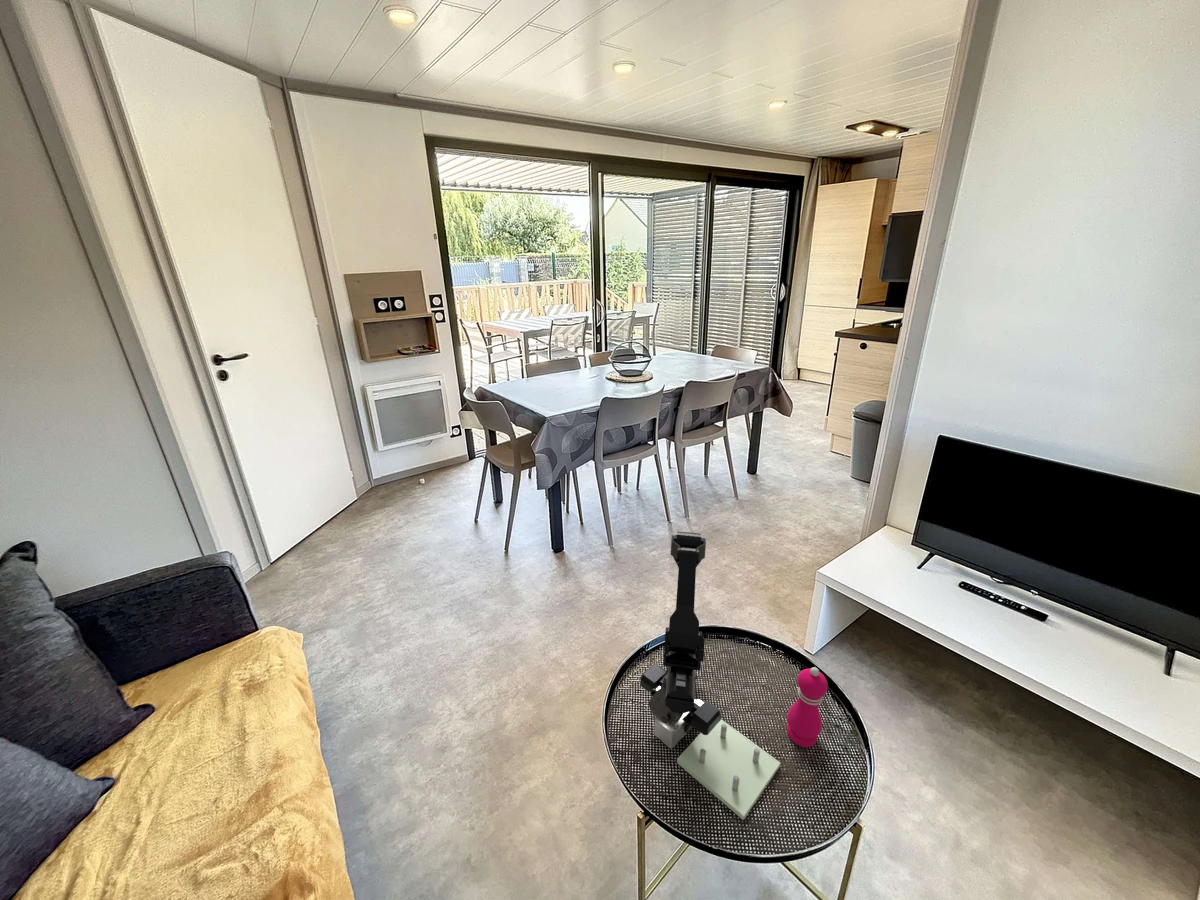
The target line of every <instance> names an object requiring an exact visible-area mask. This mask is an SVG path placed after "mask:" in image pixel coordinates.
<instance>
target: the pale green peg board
mask: <svg viewBox="0 0 1200 900" xmlns="http://www.w3.org/2000/svg"><path fill="white" fill-rule="evenodd" d="M676 764H678V765H679V767H681V768H683V770H685V771H686V772H687V773H688V774H689V775H691V777H692V778H694V779H695V780H696V781H697V782H699V784H701V785H702V786H703V787H704V788H706V789H707V790H708V791H709V792H710V793H711V794H712V795H713V796H715V797H716V798H717V799H718V800H719V801H720V802H722V803H723V804H724V805H725V806H726V807H727V808H729V809H730V810H731V811H732V812H733V813H735V814H736V815H737V816H738V817H739V818H740V819H741V820H742V821H744V820H745V819H746V817H747V816H748V814H749V812H750V811H751V810H752V808H753V807H754V805H755V804H756V803H757V801H758V799H759V798H760V797H761V795H762V793H764V791H765V789H766V788H767V786H768V784H769V783H770V782H771V781H772V779H773V778H774V776H775V775H776V773H777V772H778V770H779V768H780V767H781V762H780V761H779V760H777V759H776V758H775V757H773V756H772V755H771V754H770V753H768V752H766V751H765V750H763V749H762V747H759V746H758V745H757V744H756V743H754V742H753V741H751V740H750V739H749V738H747V737H746V736H744V735H743V734H742V733H741V732H739V730H737V729H736V728H734V727H733V726H731V725H730V724H728V723H727V722H726V721H725V720H723V719H722V718H721V720H720V721H719V722H718V724H717V725H716V726H715V727H714V728H713V729H712V730H711V732H710V733H709V734H708V735H703V734H702V733H701V732H699V734H698V735H697V736H696V738H695V739H694V740H692V742H691V743H690V744H689V745H688V746H687V747H686V748H685V749H684V751H683V752H682V753H681V754H680V756H678V757H677V758H676Z"/></svg>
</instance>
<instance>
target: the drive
mask: <svg viewBox="0 0 1200 900" xmlns="http://www.w3.org/2000/svg"><path fill="white" fill-rule="evenodd" d="M688 713H689V712H687V713H683V715H682V717H681V718H680V720H679V721H678V723H677V724H674V723H673V722H671V723H670V724H668V723H663V722H662V721H661V720H660V719H658V718H657V717H656V716H655V718H654V725H653V726H654V729H653V732H654V733H653V735H654V736H655V737H657V739H659V740H660V741H661V742H662V743H663V744H664V745H665V746H666V747H668V748H669V749H670V750H673V748H675V746H676V745H677V744H678V743H679V742H680V740H682V738H684V736H686V735H687V733H685V730H684V727H685V721H684V720H682V719H683V718H684V717H685V716H686V715H687V714H688ZM692 728H693V727H691V728H690V729H689V730H688V732H689V731H690V730H691V729H692Z"/></svg>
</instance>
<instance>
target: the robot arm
mask: <svg viewBox="0 0 1200 900" xmlns="http://www.w3.org/2000/svg"><path fill="white" fill-rule="evenodd" d="M706 540H707V539H706V537H702V534H701V533H699V532H698V533H697V532H686V531H679V530H678V531H676V534H671V541H670V555H671V557H673V559H674V561H675V564H676V566H677V567H678V573H677V586H676V598H675V599H676V601H675V603H676V604H675V610H674V611H673V613H672V614H671V616H670V617H669V623H668V626H667V627H665V630H664V631H665V633H664V644H663V645H664V646H663V647H664V648H663V660H662V661H663V663H662V666H664V667H666V669H664V668H663V667H661V666H660V665H659V664H656V663H653V664H652V665H651V666H650V667H649V668H647V669H646V670H645V671H644V672H643V673H642V674H641V676H640V677H639V678H640V679H639V684H640V686H641V687H642V688H643V689H644V690H645V691H646V692H649V693H650V696H651V698H650V699H649V700H648V703H647V704H648V707H649V710H650V713H651V714H652V715H653V716H655V718H656V717H657V718H658V719H660V720H661V721H662V722H663V723H668V724H670V723H671V722H673V723H674V724H677V723H678V721H679V720H680V718H681V717H682V715H683V713H687V712H689V713H688V714H687V715H686V716H685V717H684V718H683V719H682V720H684V721H685V727H684V730H685V733H686V734H687V733H688V732H689V731H690V730H691V729H692V728H694V729H696V731H698V732H699V733H702V734H703V735H708V734H709V733H710V732H711V730H712V729H713V728H714V727H715V726H716V725H717V724H718V722H719V721H720V720H721V719H722V710H721V709H719V708H718V706H715V705H714V704H712V703H711V702H710V701H708V700H705V701H702V700H701V699H695V693H696V692H697V688H695V681H696V680H697V679H698V674H697V671H699V672H701V664H702V663H704V662H705V661H704V660H705V659H704V658H705V637H704V634H703V632H702V631H700V620H699V618H698V617H697V615H696V613H695V599H696V598H695V597H696V595H695V594H696V578H697V567H698V566H699V564H700V563H701V562H702V560H704V559H705V558H706V547H707V541H706ZM691 727H692V728H691ZM690 728H691V729H690ZM689 729H690V730H689ZM688 730H689V731H688Z"/></svg>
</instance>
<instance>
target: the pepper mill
mask: <svg viewBox="0 0 1200 900" xmlns="http://www.w3.org/2000/svg"><path fill="white" fill-rule="evenodd" d="M796 680H797V685H798V686H797V687H798V688H797V696H798V698H797V701H795V703H793V704H792V705H791V706H790V708H789V709H788V712H787V715H786V716H787V718H786V720H787V728H786V732H787V735H788V737H789V739H790V740H791V741H792V742H793V743H794V744H796V745H797V746H799V747H802V748H811V747H813V746H815V744H816V743H817V738H818V736H819V735H820V734H821V733H822V729H823V720H822V716H821V713H820V712H819V705H820V704H822V702H823V698H824V696H825V695H826V694H827V692H828V687H829V684H828V681H827V678H826V677H825V675H824V674H823V673H822V672H820V669H818V668H817V667H816V666H814V667H811V668H809V667H808V668H805V669H802V670H801V671H800V673H798V676H797V679H796Z"/></svg>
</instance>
